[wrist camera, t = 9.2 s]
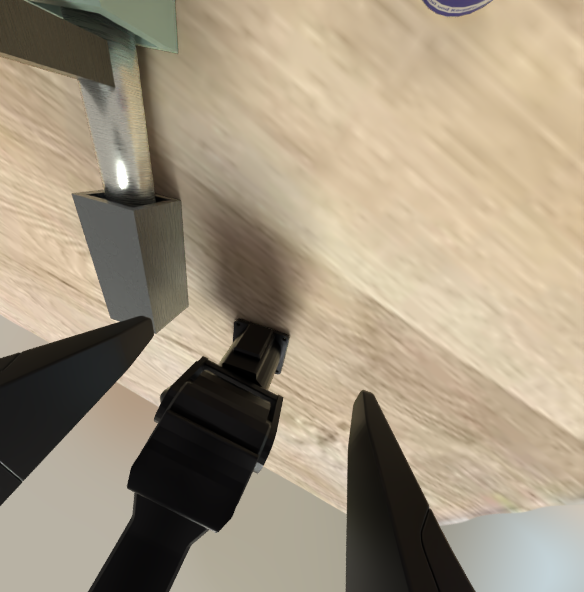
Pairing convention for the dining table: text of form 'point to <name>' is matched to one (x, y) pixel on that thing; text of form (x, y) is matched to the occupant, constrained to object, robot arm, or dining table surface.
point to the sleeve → (136, 255)
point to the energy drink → (455, 6)
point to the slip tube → (91, 86)
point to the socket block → (129, 18)
